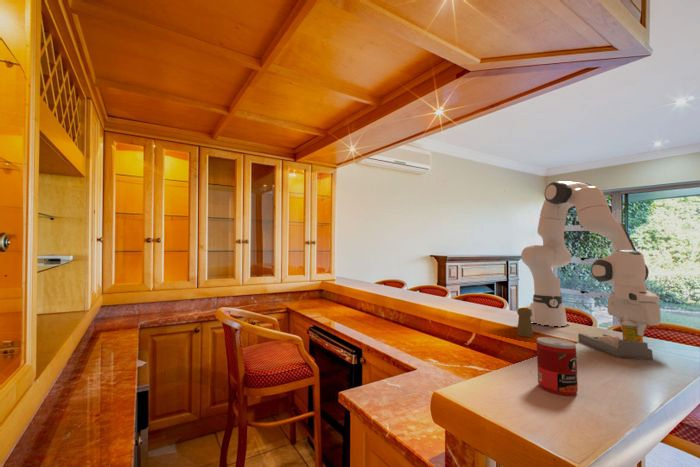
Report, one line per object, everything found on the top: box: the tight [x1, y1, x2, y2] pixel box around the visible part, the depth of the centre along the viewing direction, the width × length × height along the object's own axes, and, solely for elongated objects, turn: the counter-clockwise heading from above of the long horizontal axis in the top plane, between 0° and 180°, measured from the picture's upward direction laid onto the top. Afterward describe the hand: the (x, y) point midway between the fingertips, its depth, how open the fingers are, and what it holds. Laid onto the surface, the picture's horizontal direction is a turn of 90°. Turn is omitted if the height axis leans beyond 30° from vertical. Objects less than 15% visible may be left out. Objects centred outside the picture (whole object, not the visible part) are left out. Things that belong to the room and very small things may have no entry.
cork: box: [516, 307, 534, 338], centre depth 128 cm, size 6×6×11 cm
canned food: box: [536, 336, 579, 397], centre depth 73 cm, size 8×8×11 cm
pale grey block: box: [596, 335, 621, 347], centre depth 108 cm, size 4×7×3 cm, turn 82°
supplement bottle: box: [621, 316, 644, 342], centre depth 111 cm, size 5×5×10 cm
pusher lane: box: [577, 332, 654, 361], centre depth 108 cm, size 21×10×5 cm, turn 172°
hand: (632, 332), depth 111 cm, fingers closed on supplement bottle, 5 cm apart
